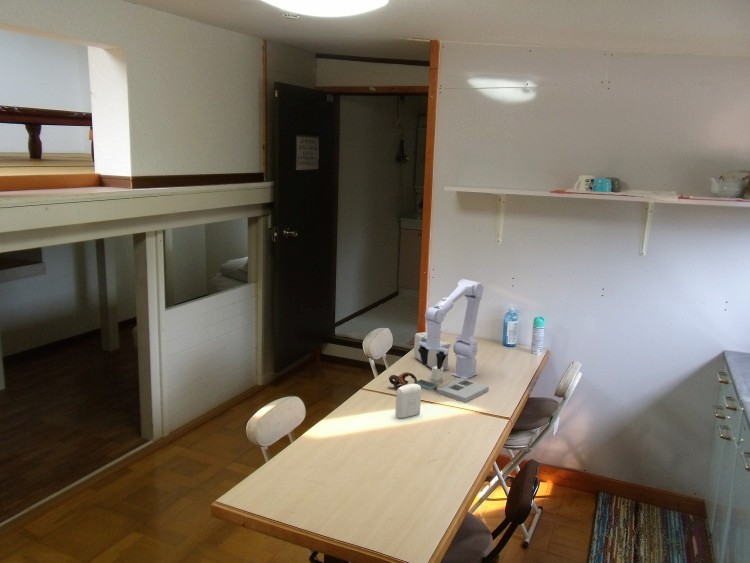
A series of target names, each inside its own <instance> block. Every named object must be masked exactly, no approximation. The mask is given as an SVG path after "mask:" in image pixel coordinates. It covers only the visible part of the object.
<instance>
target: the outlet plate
mask: <svg viewBox="0 0 750 563" xmlns="http://www.w3.org/2000/svg"><path fill="white" fill-rule="evenodd" d="M489 390H490V388H489V386H488V385H485V384H481V383H479V382H475V381H471V380H469V379H463V378H460V377H459V378H458V379H456V380H453V381H451V382H449V383H446V384H445V385H442V386H440V387H438V388H437V390H436V394H437V395H438V394H439V395H441V396H444V397H447V398H450V399H454V400H456V401H459V402H462V403H464V404H465V403H467V402H469V401H472V400H474V399H475V398H477V397H479V396H481V395H483V394H486V393H487V392H489Z"/></svg>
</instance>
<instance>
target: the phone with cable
mask: <svg viewBox="0 0 750 563" xmlns="http://www.w3.org/2000/svg"><path fill="white" fill-rule="evenodd" d="M417 384H418V385H420V387H421V388H424V389H426V390H429V391H433V390H436V391H437V388H439V387H438V384H437V383H434V382H431V381H427V380H424V379H423V378H422V379H417Z"/></svg>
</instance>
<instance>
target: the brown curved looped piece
mask: <svg viewBox="0 0 750 563" xmlns="http://www.w3.org/2000/svg"><path fill="white" fill-rule="evenodd" d="M409 376H410V378H411V379H412V380H414V382H413V383H412V384H417V381H418V379H417V377H416V375H415V374H413V373H411V372H409V371H408V372H407V371H405V372H402V373H401V374H399V375H396V374H392V375H390V376H389V377H388V380H389V382H390V384H391V385H393V387H394V388H396V387H397V386H399V385H401V386H404V385H407V384H409V381H408V380H407V379H406V378H407V377H409Z"/></svg>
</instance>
